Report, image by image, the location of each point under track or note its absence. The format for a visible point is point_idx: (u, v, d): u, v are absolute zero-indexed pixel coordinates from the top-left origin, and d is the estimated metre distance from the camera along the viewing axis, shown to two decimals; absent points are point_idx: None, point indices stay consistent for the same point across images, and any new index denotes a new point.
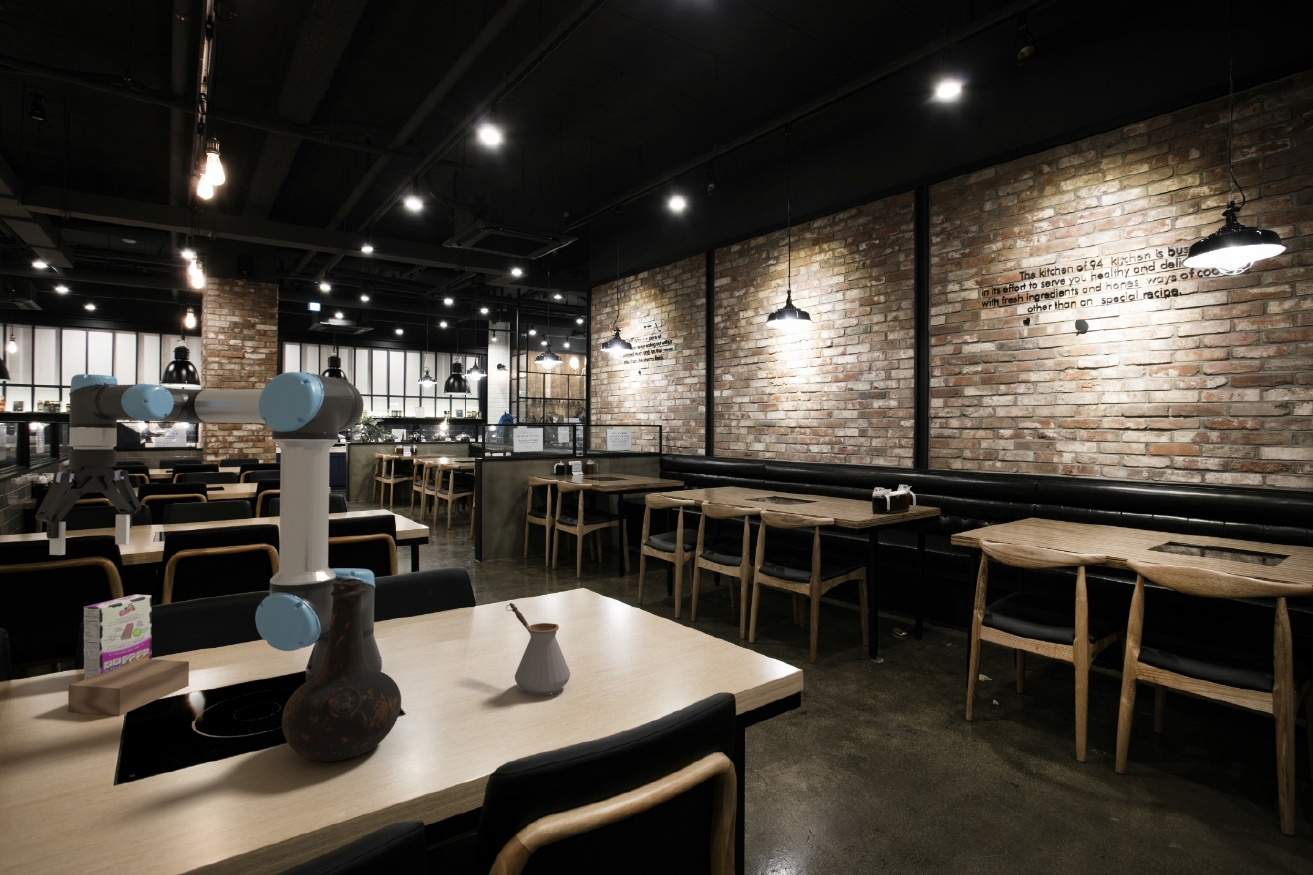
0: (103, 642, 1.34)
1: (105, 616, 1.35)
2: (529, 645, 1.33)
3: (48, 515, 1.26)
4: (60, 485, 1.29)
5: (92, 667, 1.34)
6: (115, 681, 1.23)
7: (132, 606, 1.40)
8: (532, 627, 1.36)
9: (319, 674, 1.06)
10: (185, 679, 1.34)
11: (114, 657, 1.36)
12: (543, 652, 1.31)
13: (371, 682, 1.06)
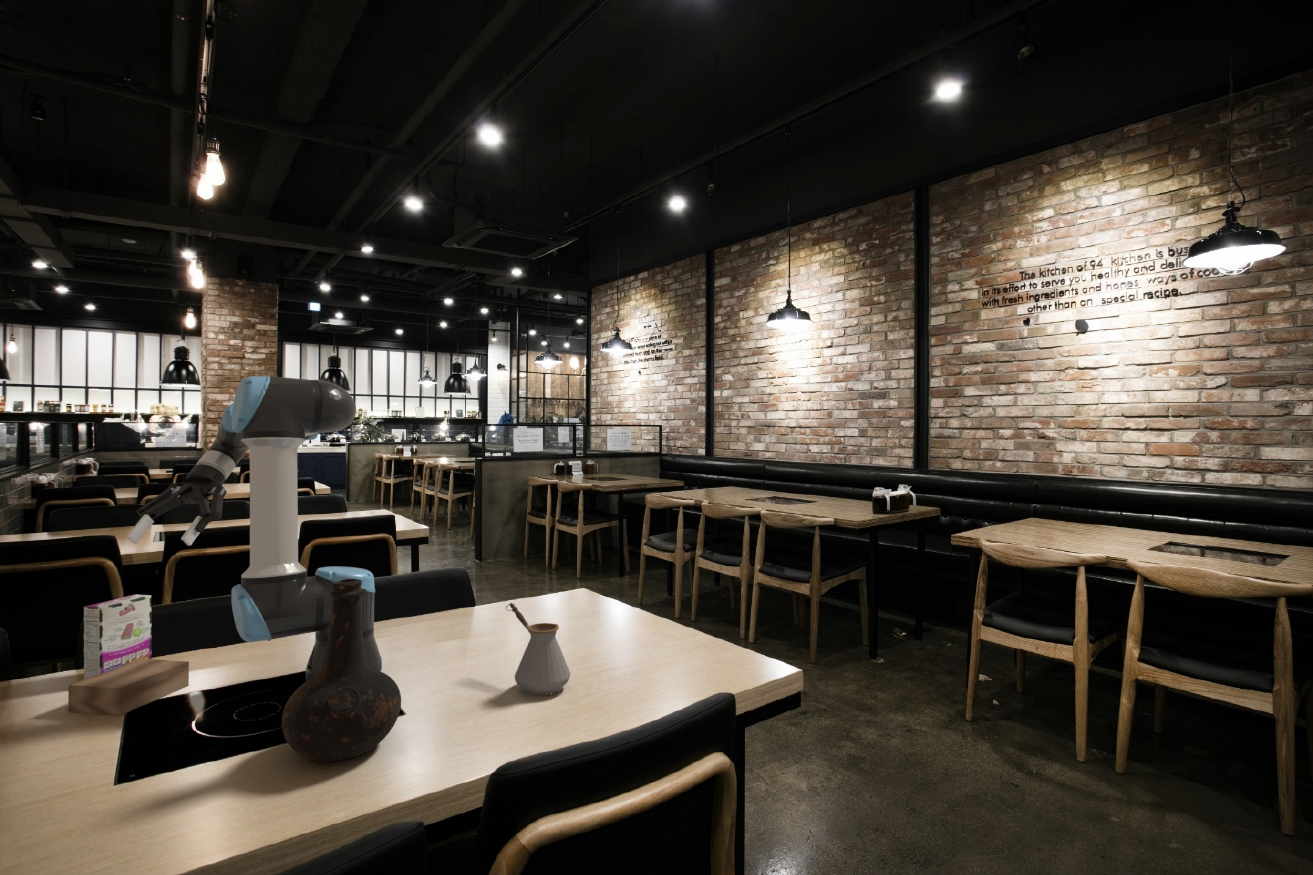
0: (103, 642, 1.34)
1: (105, 616, 1.35)
2: (529, 645, 1.33)
3: (139, 509, 1.55)
4: None
5: (92, 667, 1.34)
6: (115, 681, 1.23)
7: (132, 606, 1.40)
8: (532, 627, 1.36)
9: (319, 674, 1.06)
10: (185, 679, 1.34)
11: (114, 657, 1.36)
12: (543, 652, 1.31)
13: (371, 682, 1.06)
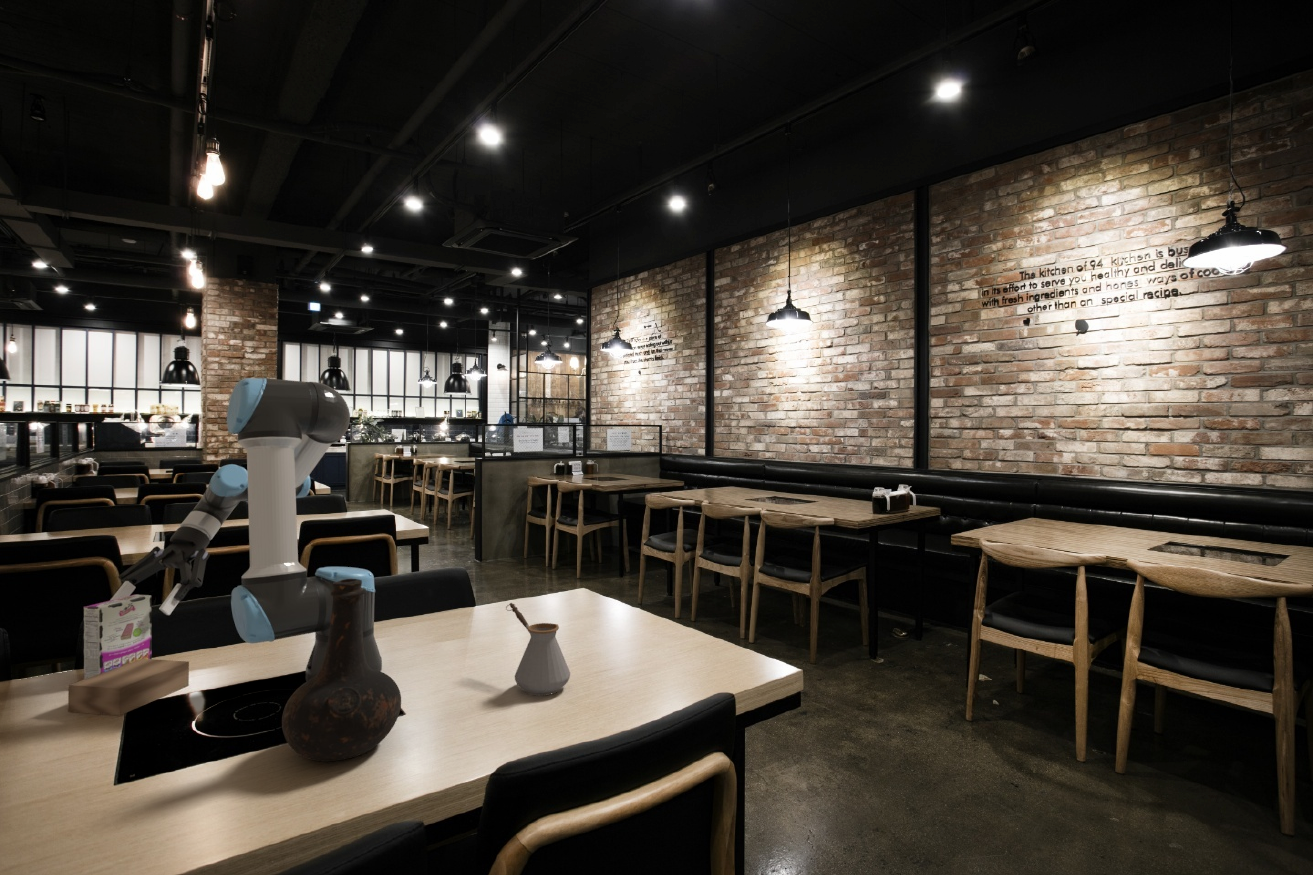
0: (103, 642, 1.34)
1: (105, 616, 1.35)
2: (529, 645, 1.33)
3: (121, 574, 1.51)
4: None
5: (92, 667, 1.34)
6: (115, 681, 1.23)
7: (132, 606, 1.40)
8: (532, 627, 1.36)
9: (319, 674, 1.06)
10: (185, 679, 1.34)
11: (114, 657, 1.36)
12: (543, 652, 1.31)
13: (371, 682, 1.06)
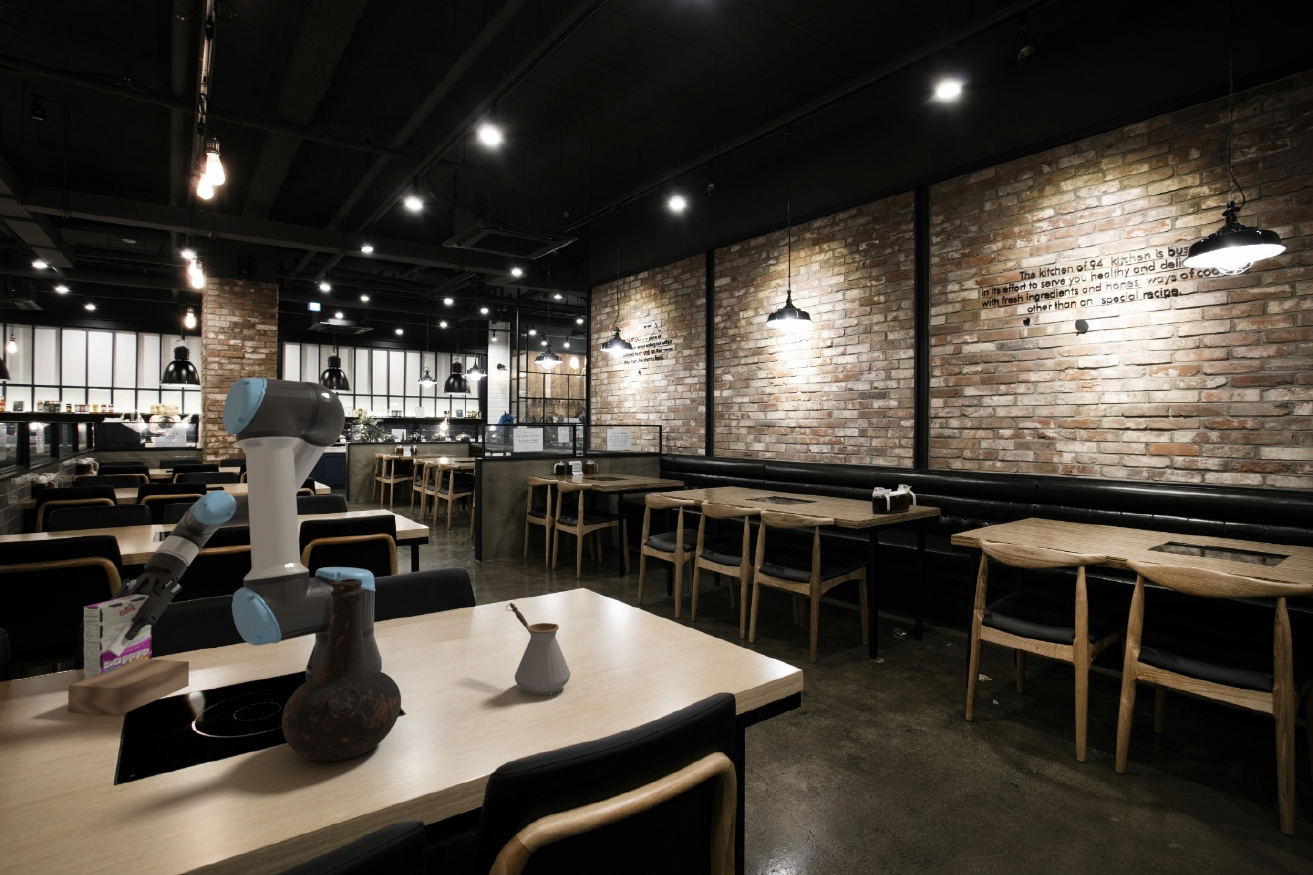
0: (103, 642, 1.34)
1: (105, 616, 1.35)
2: (529, 645, 1.33)
3: None
4: None
5: (92, 667, 1.34)
6: (115, 681, 1.23)
7: (132, 606, 1.40)
8: (532, 627, 1.36)
9: (319, 674, 1.06)
10: (185, 679, 1.34)
11: (114, 657, 1.36)
12: (543, 652, 1.31)
13: (371, 682, 1.06)
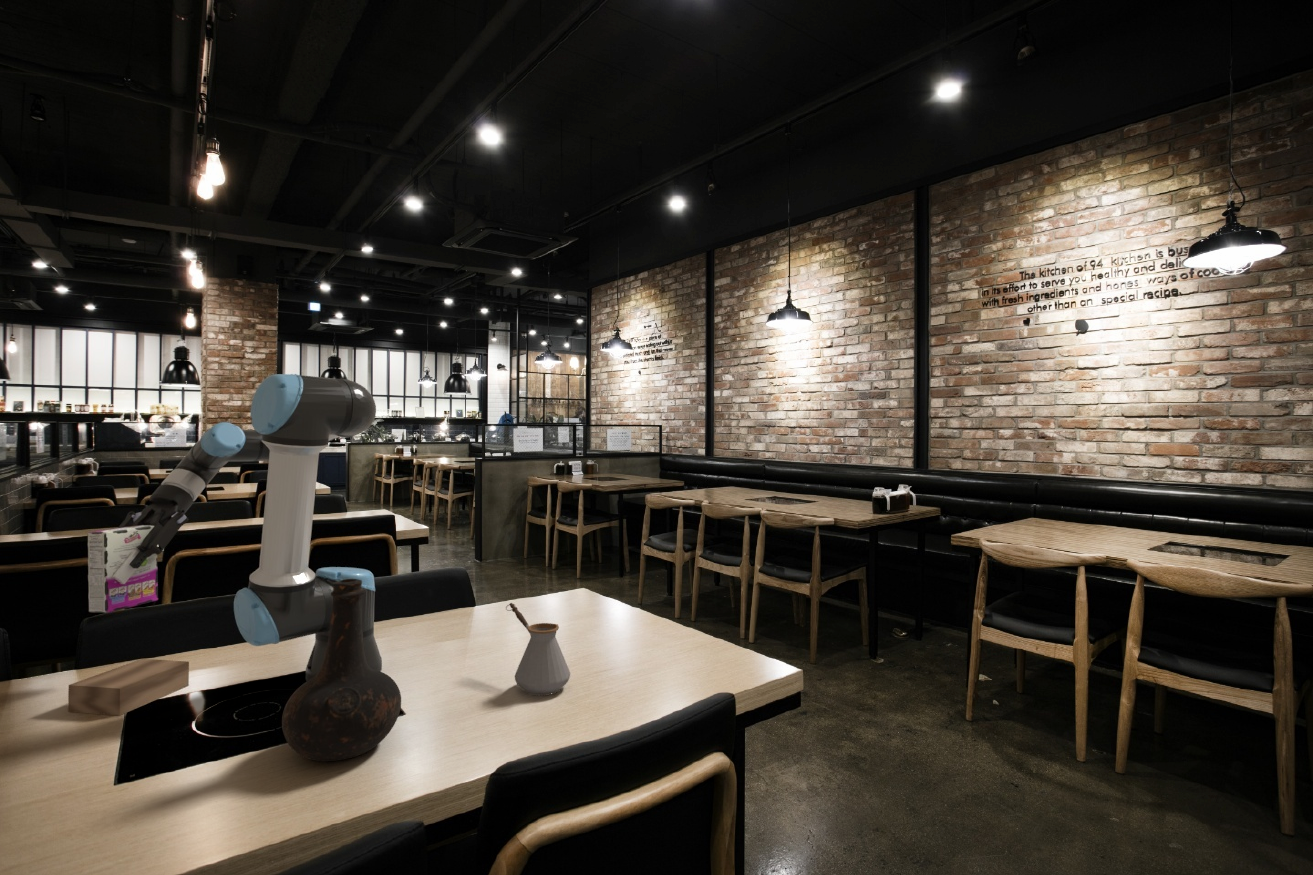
0: (108, 568, 1.30)
1: (110, 542, 1.30)
2: (529, 645, 1.33)
3: None
4: None
5: (97, 594, 1.30)
6: (115, 681, 1.23)
7: (138, 535, 1.36)
8: (532, 627, 1.36)
9: (319, 674, 1.06)
10: (185, 679, 1.34)
11: (119, 584, 1.32)
12: (543, 652, 1.31)
13: (371, 682, 1.06)
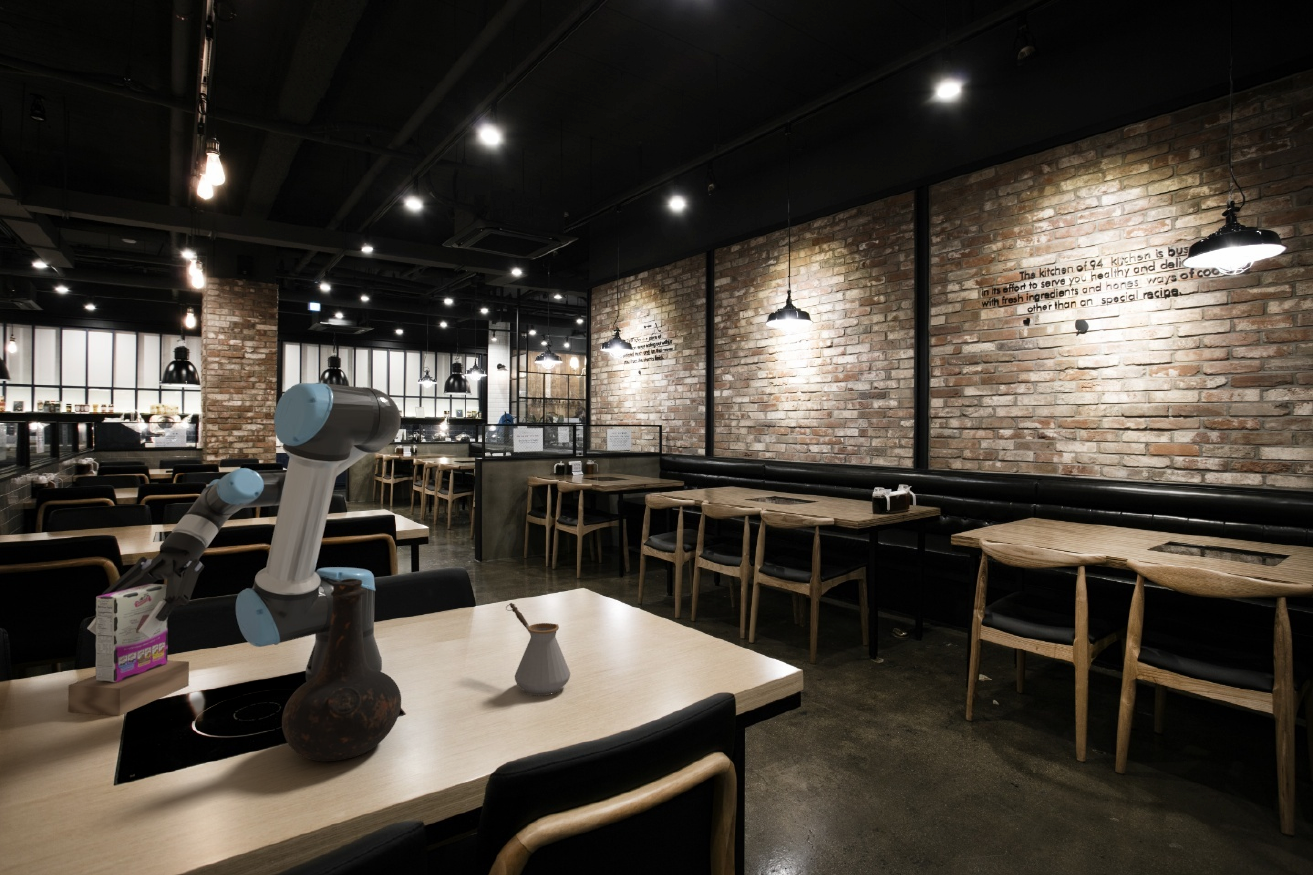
0: (118, 635, 1.23)
1: (120, 607, 1.23)
2: (529, 645, 1.33)
3: (105, 591, 1.31)
4: None
5: (105, 663, 1.23)
6: None
7: (148, 597, 1.29)
8: (532, 627, 1.36)
9: (319, 674, 1.06)
10: (185, 679, 1.34)
11: (129, 651, 1.25)
12: (543, 652, 1.31)
13: (371, 682, 1.06)
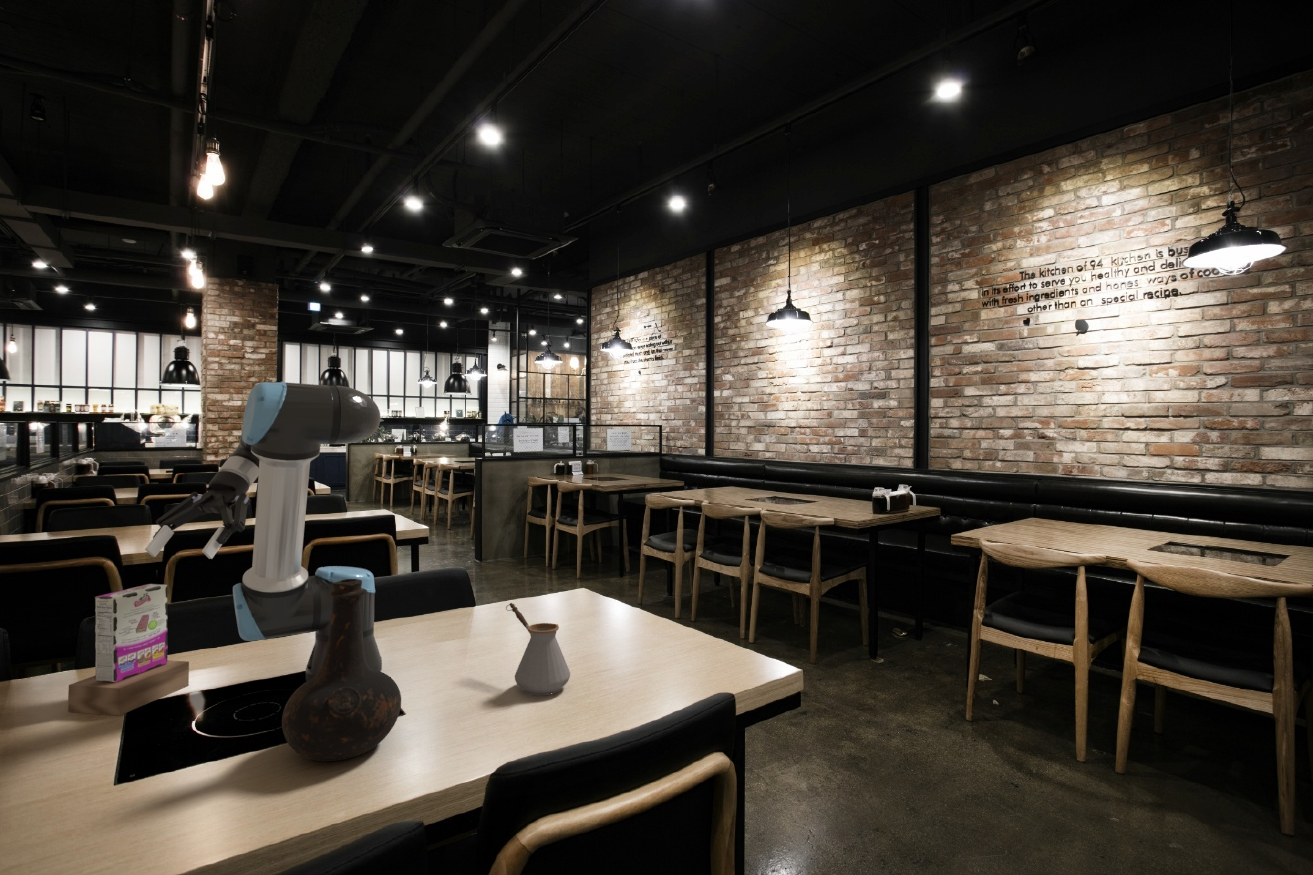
0: (117, 635, 1.23)
1: (119, 607, 1.23)
2: (529, 645, 1.33)
3: (159, 519, 1.44)
4: None
5: (105, 663, 1.23)
6: None
7: (148, 597, 1.29)
8: (532, 627, 1.36)
9: (319, 674, 1.06)
10: (185, 679, 1.34)
11: (129, 651, 1.25)
12: (543, 652, 1.31)
13: (371, 682, 1.06)
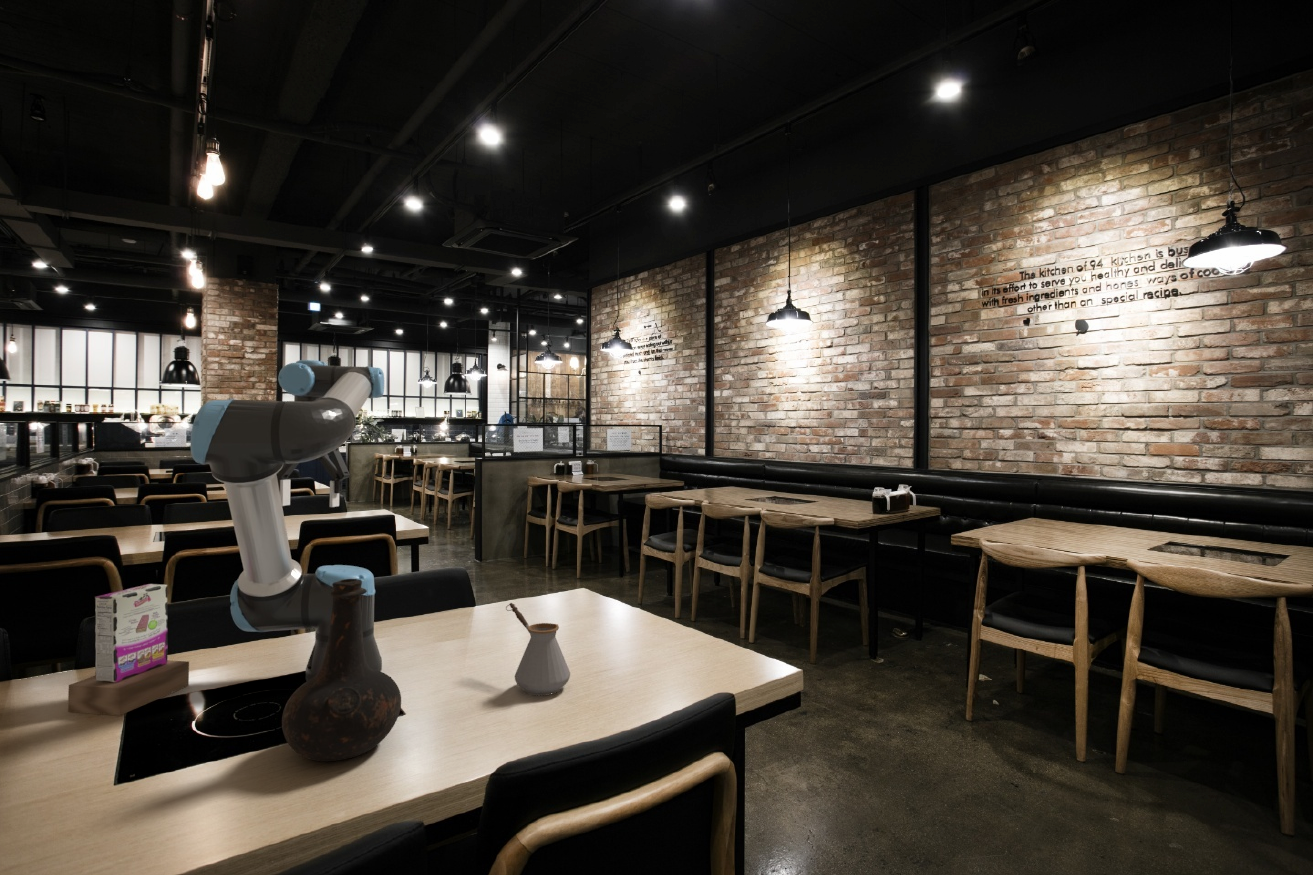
0: (117, 635, 1.23)
1: (119, 607, 1.23)
2: (529, 645, 1.33)
3: None
4: None
5: (105, 663, 1.23)
6: None
7: (148, 597, 1.29)
8: (532, 627, 1.36)
9: (319, 674, 1.06)
10: (185, 679, 1.34)
11: (129, 651, 1.25)
12: (543, 652, 1.32)
13: (371, 682, 1.06)
